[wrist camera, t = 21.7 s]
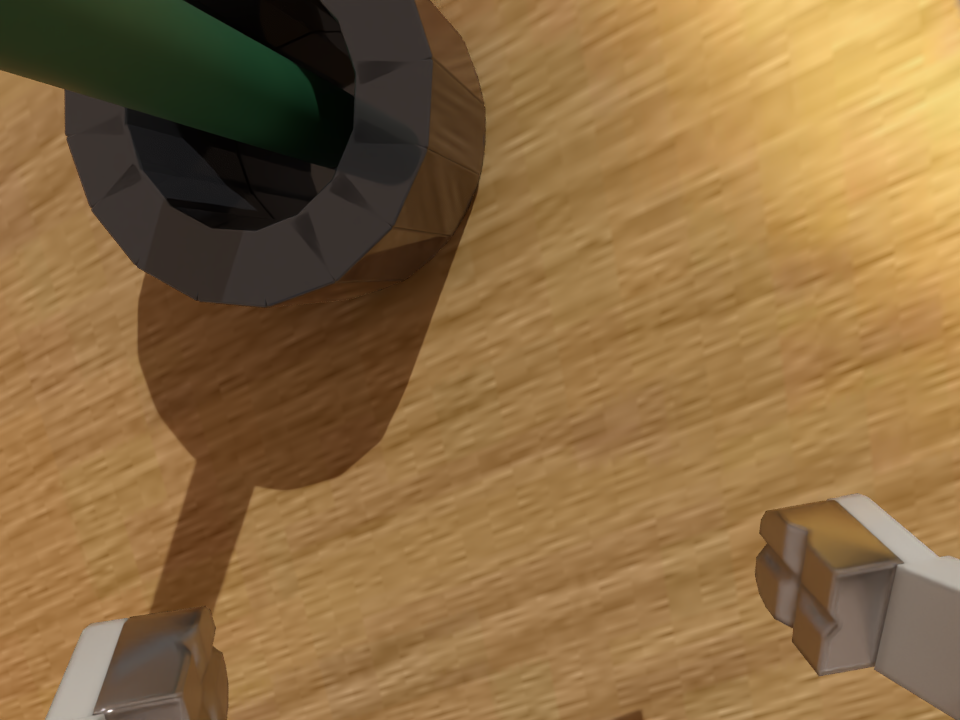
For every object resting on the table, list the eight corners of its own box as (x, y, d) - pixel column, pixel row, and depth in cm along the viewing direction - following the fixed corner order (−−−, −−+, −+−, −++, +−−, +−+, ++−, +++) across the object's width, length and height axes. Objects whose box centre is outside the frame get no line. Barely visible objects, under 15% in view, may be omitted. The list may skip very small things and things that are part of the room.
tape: (543, 47, 18) (504, -25, 13) (401, 352, 20) (326, 375, 15) (258, -82, 19) (139, -185, 15) (150, 214, 21) (16, 200, 17)
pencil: (319, 182, 19) (-590, -47, 5) (283, 116, 19) (-716, -285, 5) (380, 141, 19) (-451, -236, 5) (343, 72, 19) (-594, -500, 5)
